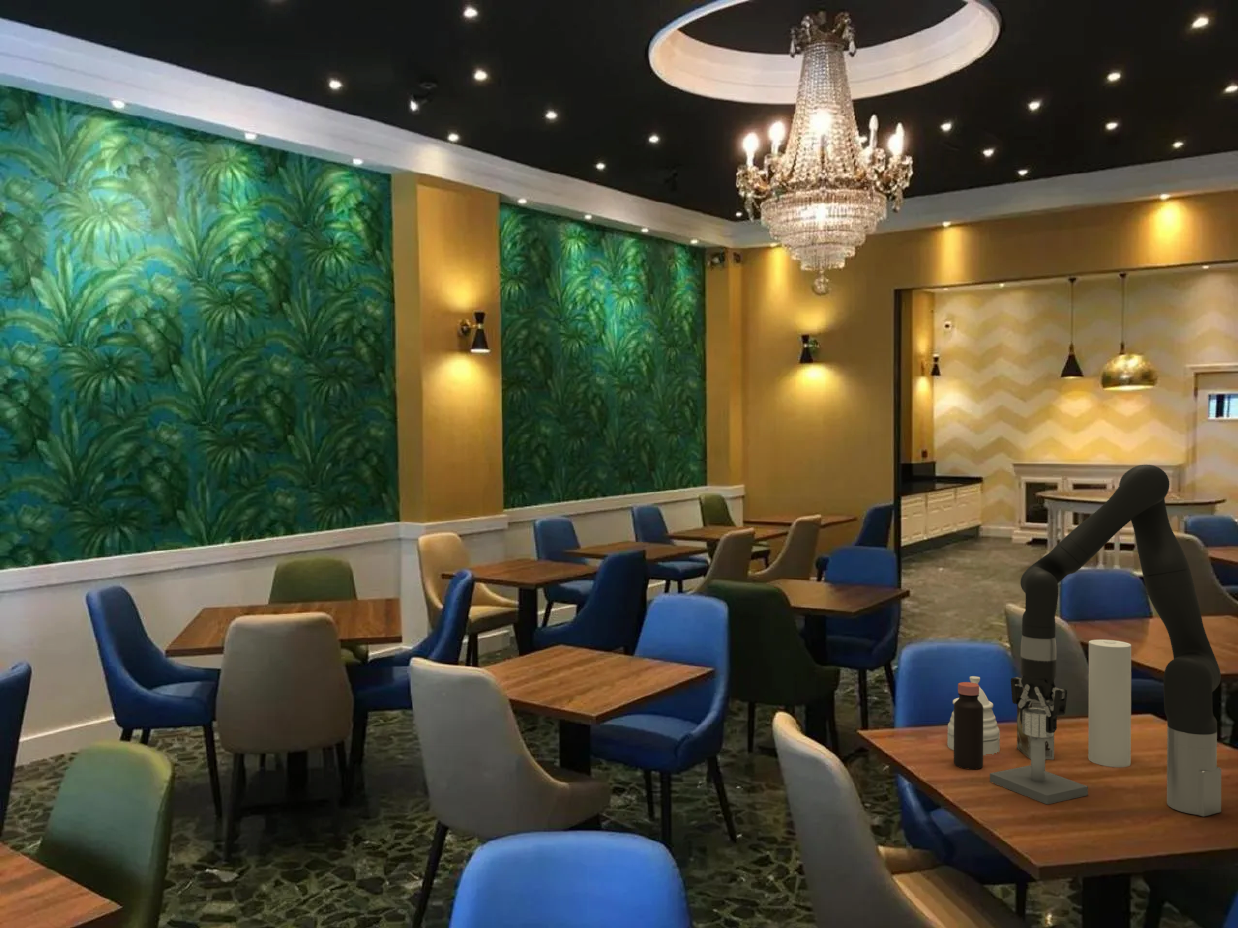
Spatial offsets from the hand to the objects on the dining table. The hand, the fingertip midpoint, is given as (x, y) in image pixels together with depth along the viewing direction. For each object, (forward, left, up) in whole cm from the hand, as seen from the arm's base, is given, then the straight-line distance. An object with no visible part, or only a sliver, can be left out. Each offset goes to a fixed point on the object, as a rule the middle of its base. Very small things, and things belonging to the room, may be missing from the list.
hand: (1037, 728), depth 219 cm
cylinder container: (+6, -32, -14) cm, 35 cm away
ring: (0, 0, -1) cm, 1 cm away
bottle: (+19, +2, -14) cm, 24 cm away
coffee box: (+18, -20, -14) cm, 30 cm away
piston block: (0, 0, -14) cm, 14 cm away
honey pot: (+29, -10, -14) cm, 34 cm away
